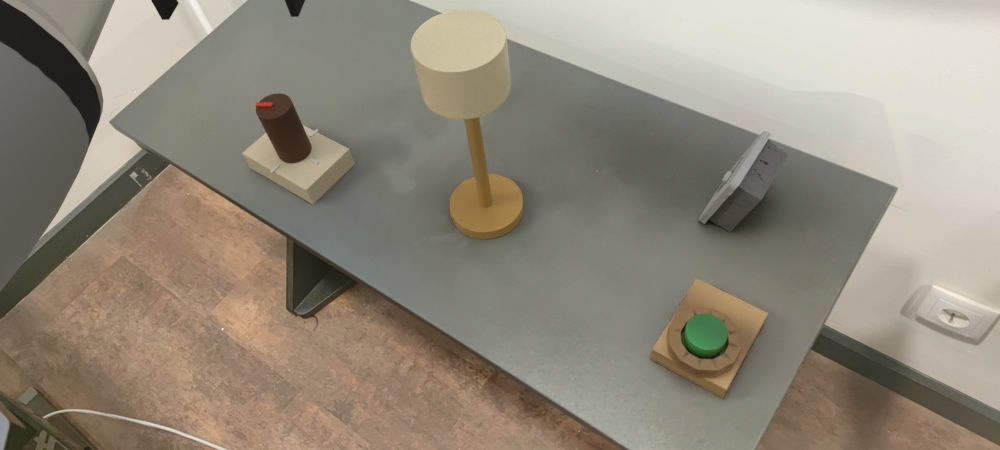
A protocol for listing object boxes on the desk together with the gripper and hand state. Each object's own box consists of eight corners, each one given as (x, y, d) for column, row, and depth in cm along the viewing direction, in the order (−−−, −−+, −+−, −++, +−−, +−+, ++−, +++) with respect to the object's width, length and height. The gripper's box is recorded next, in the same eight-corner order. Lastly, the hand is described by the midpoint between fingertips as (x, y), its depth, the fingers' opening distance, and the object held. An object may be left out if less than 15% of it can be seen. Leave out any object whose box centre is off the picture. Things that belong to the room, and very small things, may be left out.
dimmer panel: (311, 206, 89) (303, 190, 86) (248, 169, 94) (239, 153, 91) (356, 162, 93) (350, 146, 90) (294, 129, 97) (286, 113, 95)
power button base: (721, 402, 69) (727, 386, 66) (648, 362, 72) (651, 344, 69) (764, 323, 74) (772, 304, 70) (693, 288, 77) (698, 268, 74)
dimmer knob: (315, 138, 92) (295, 91, 85) (306, 163, 89) (284, 117, 82) (283, 138, 92) (260, 91, 86) (274, 163, 90) (249, 116, 83)
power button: (714, 365, 67) (717, 357, 66) (676, 345, 69) (678, 336, 68) (731, 334, 69) (735, 325, 68) (694, 315, 71) (696, 306, 69)
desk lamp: (495, 251, 82) (467, 84, 61) (436, 219, 86) (390, 51, 65) (538, 199, 86) (525, 27, 65) (479, 171, 90) (449, -1, 69)
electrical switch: (729, 171, 86) (751, 121, 78) (769, 190, 84) (795, 141, 77) (695, 224, 82) (715, 176, 74) (736, 245, 80) (761, 198, 72)
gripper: (-49, -194, 53) (103, 36, 70) (265, -214, 50) (345, 31, 67) (2, -234, 57) (133, -10, 74) (293, -256, 54) (361, -16, 71)
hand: (233, 10), depth 70 cm, fingers open, 13 cm apart
